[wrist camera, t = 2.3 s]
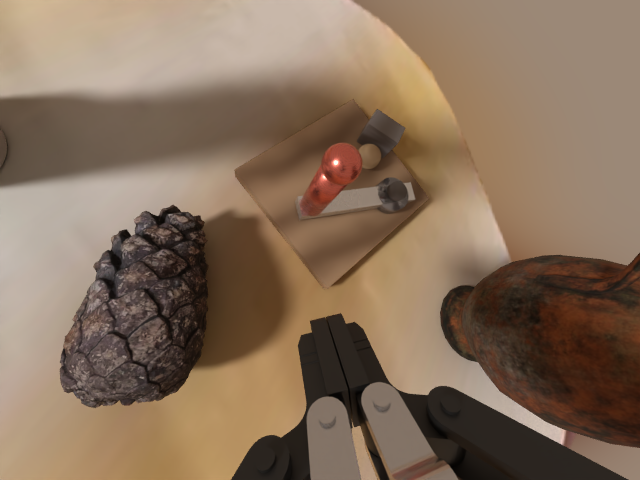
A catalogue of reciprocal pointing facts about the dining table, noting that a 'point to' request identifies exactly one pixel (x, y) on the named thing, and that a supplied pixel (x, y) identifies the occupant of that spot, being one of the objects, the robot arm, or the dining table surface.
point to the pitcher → (558, 340)
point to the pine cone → (140, 314)
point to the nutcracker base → (349, 228)
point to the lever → (334, 176)
